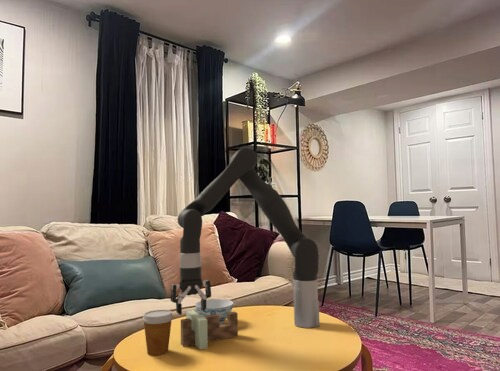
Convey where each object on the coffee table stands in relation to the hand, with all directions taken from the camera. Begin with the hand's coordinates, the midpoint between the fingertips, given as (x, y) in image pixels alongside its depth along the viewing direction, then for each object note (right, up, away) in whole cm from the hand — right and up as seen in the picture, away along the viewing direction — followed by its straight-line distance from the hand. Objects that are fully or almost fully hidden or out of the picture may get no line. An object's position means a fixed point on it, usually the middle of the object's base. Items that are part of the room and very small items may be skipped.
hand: (191, 312), depth 130 cm
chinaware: (+7, -10, +17) cm, 21 cm away
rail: (+7, -9, -3) cm, 11 cm away
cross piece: (+2, -8, -5) cm, 10 cm away
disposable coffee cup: (-9, -8, -14) cm, 18 cm away
